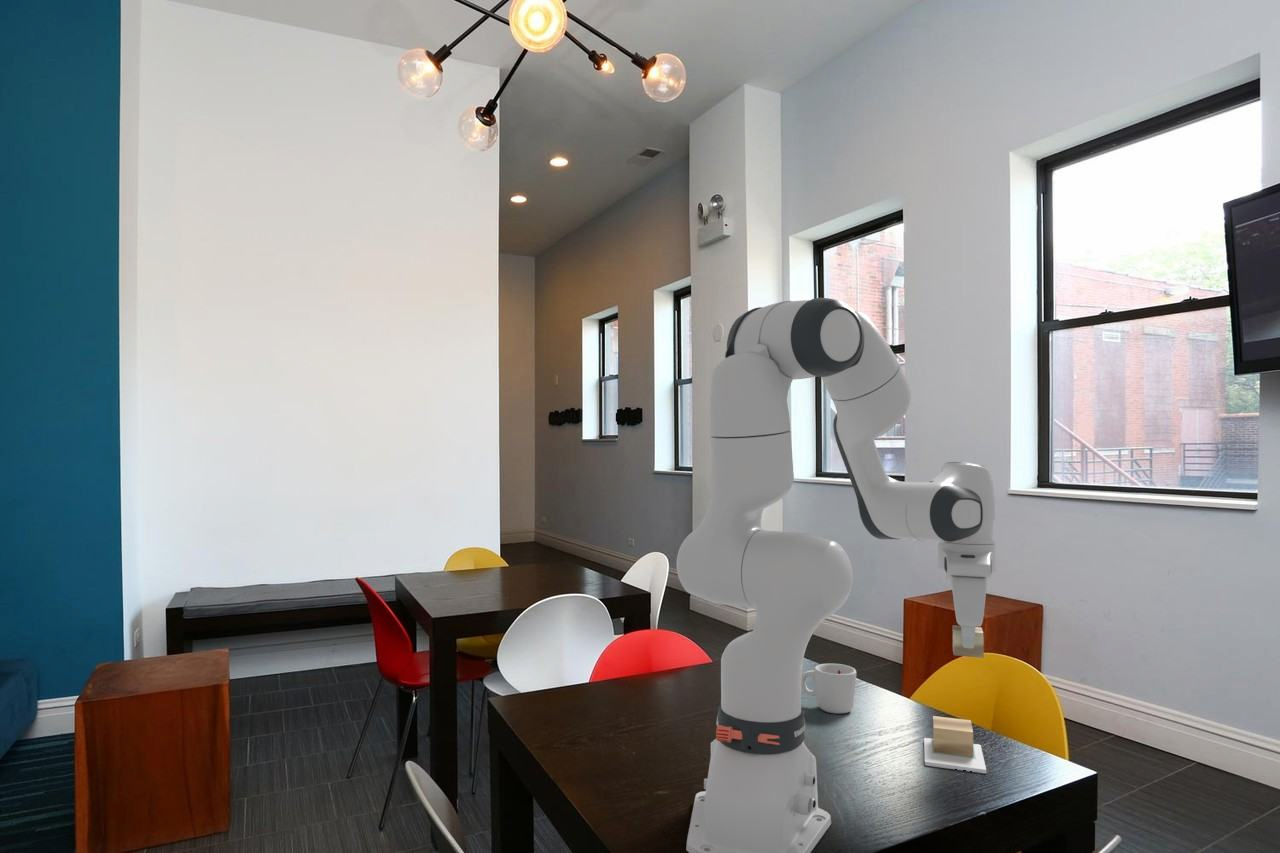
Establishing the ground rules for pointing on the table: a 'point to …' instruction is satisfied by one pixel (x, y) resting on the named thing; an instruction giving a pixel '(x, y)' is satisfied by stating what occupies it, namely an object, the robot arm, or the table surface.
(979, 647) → the maple block
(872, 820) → the table surface
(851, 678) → the cup
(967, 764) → the plate
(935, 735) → the oak block
